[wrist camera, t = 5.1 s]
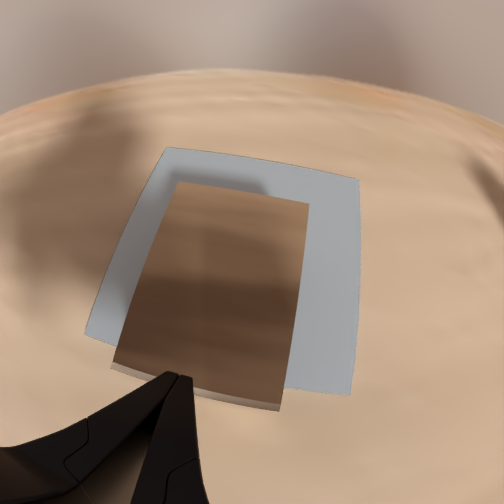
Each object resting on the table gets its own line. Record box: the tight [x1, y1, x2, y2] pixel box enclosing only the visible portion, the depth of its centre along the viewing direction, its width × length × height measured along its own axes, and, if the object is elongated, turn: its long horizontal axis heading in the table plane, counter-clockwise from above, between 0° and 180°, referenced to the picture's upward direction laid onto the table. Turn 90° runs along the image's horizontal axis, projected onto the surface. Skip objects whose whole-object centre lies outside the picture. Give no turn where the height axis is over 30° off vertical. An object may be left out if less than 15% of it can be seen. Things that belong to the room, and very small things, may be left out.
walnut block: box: [111, 182, 309, 412], centre depth 15 cm, size 4×7×10 cm
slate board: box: [84, 147, 361, 395], centre depth 19 cm, size 16×16×1 cm
